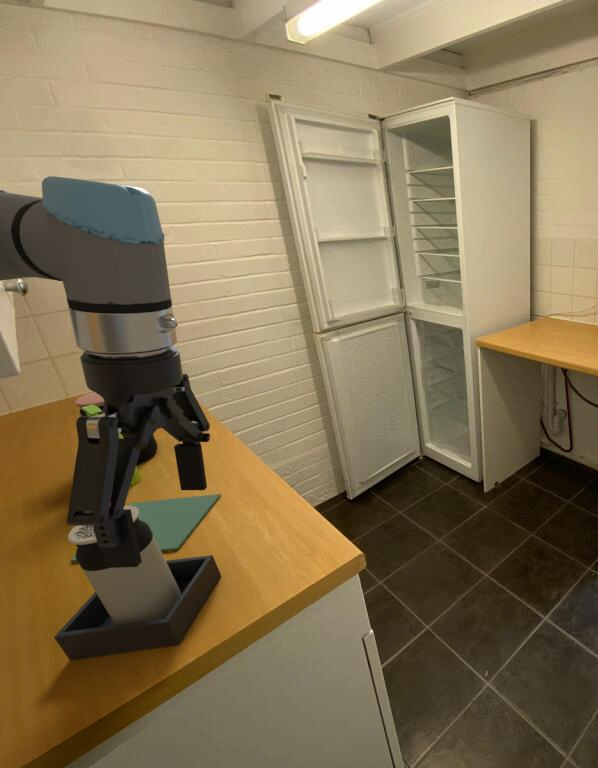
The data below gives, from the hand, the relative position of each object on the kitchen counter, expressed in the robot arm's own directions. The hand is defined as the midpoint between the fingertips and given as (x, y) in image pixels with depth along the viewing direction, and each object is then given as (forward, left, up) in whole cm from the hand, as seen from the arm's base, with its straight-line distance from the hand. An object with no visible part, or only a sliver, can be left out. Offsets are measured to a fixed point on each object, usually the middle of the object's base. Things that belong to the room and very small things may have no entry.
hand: (163, 522), depth 49 cm
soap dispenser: (-44, +48, -25) cm, 70 cm away
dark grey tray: (-15, +9, -24) cm, 30 cm away
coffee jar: (-50, +60, -25) cm, 82 cm away
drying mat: (-28, +31, -24) cm, 49 cm away
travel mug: (-15, +9, -24) cm, 30 cm away
